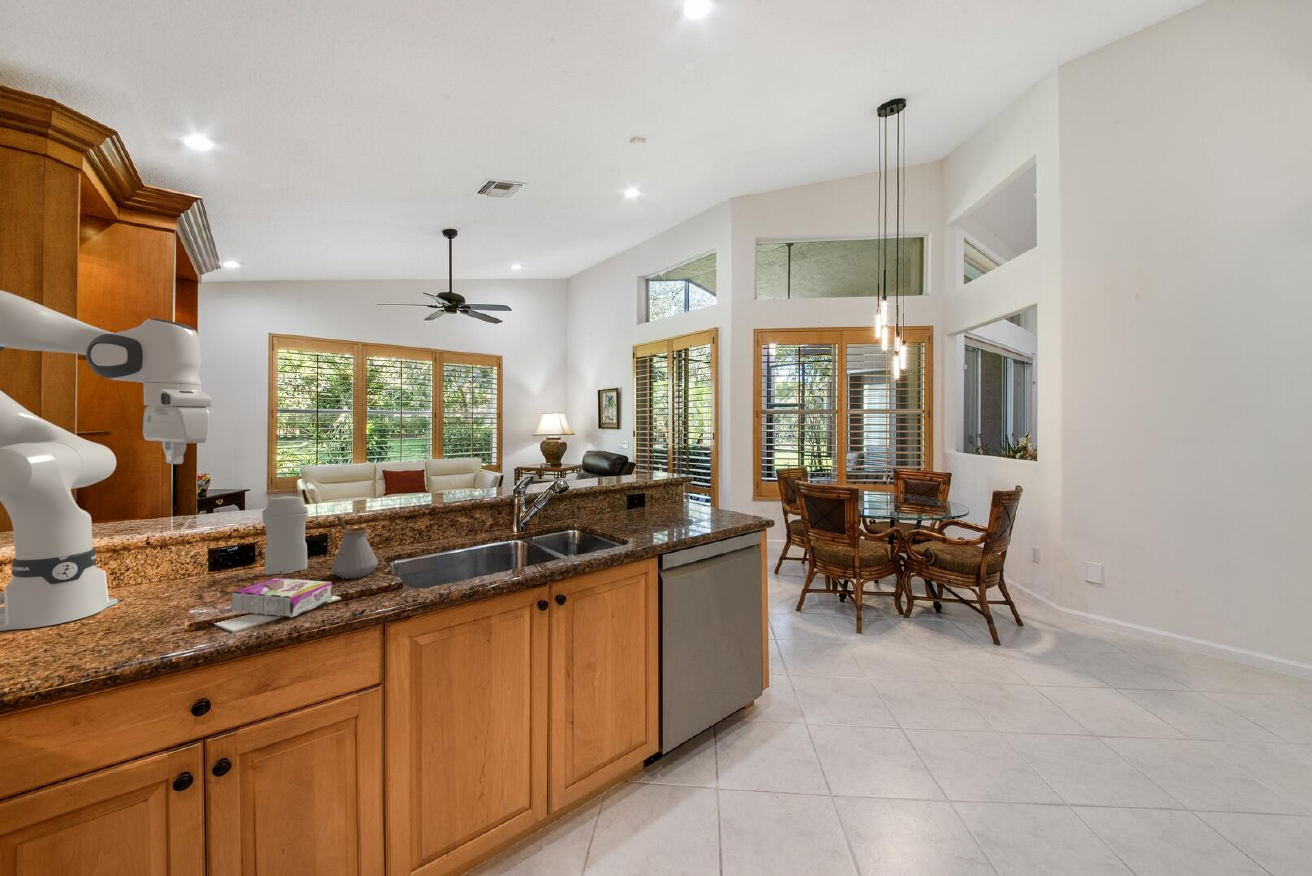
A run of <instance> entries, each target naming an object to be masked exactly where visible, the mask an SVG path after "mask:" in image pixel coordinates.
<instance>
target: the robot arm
mask: <svg viewBox="0 0 1312 876" xmlns="http://www.w3.org/2000/svg"><path fill="white" fill-rule="evenodd" d="M199 337H200V336H199V335H198V333H197V330H196V329H195V328H194V327H193V326H191V325H188V324H186V323H180V322H176V321H171V320H167V319H163V318H148V319H146V320H144V321H143V323H141V324H140V325H138V326H135V327H133V328H130V329H126V330H122V331H117V332H113V331H110V330H107V329H103V328H100V327H97V326H94V325H91V324H89V323H86V322H83V321H81V320H78V319H77V318H73V317H72V316H68V315H66V314H63V313H61V312H59V311H57V310H54V309H52V308H49V307H47V306H45V305H42V304H40V303H37V302H35V301H32V300H30V299H27V298H24V297H21V296H19V295H16V294H15V293H12V292H8V291H5V290H3V289H2V290H1V289H0V353H1V352H2V351H3V349H4V348H8V349H14V350H15V349H16V350H24V351H35V352H37V351H38V352H49V353H50V352H51V353H52V352H53V353H61V354H62V353H64V354H76V355H84V356H86V362H87V363H88V367H90V369H91V370H92V371H93V372H94V373H95V374H96V375H97V376H99V377H101V378H105V379H109V380H113V381H121V382H132V383H133V382H134V383H143V406H146V407H145V408H144V412H143V424H142V436H143V438H144V440H145V441H150V442H161V443H162V449H163V451H164V455H165V462H166V464H170V465H171V464H172V465H181V464H183V463H184V456H185V455H184V454H185V452H186V451H187V444H205V443H206V442H207V440H208V437H209V430H210V411H209V409H208V408H210V407H211V406H212V398H211V396H210V395H208V394H207V393H205V392H204V390H203V389H202V388H203V387H202V381H201V378H200V369H201V366H202V352H201V351H202V350H201V348H202V347H201V341H200V338H199ZM116 467H117V457H116V456H115V453H114V452H113V451H112V449H110V448H109V447H107V446H105V445H103V444H102V443H101V444H100V443H97V442H94V441H91V440H87V439H84V438H82V437H81V436H78V435H76V434H74V433H72V432H70V431H68V430H66V429H64V428H62V427H60V426H58V425H56V424H53V423H51V422H49V421H48V420H46V419H43V418H42V417H40V416H38V415H37V414H34V413H33V412H32V411H30V410H28V409H27V408H26V407H24V406H23V405H21V404H20V403H19V402H17V401H15V400H14V399H13V398H12V397H10V396H9V395H7V394H6V393H5V392H4V391H2V390H1V389H0V503H1V504H2V505H3V507H4V508H5V510H6V513H8V516H9V518H10V521H11V525H12V531H13V541H14V542H13V543H14V558H13V559H12V562H11V565H10V569H11V573H10V574H11V576H12V578H11V579H10V581H9V582H8V583H7V584H6V586H5V588H4V590H3V591H2V592H0V605H2V606H0V632H2V631H9V630H10V631H11V630H22V629H24V630H25V629H36V628H41V627H49V626H53V625H58V624H63V623H68V622H72V621H76V620H79V619H80V620H81V619H83V618H87V617H90V616H93V615H95V614H97V613H100V612H102V611H103V610H105V609H107V608H108V607H109V608H110V607H112V606H114V605H117V604H118V603H119V602H118V601H119V600H118V598H116V597H110V596H109V592H108V591H109V590H108V583H107V573H106V571H105V570H103V569H101V568H99V567H97V566H96V564H97V557H98V556H97V555H98V554H97V553H96V549H95V547H93V525H92V522H93V521H92V520H93V519H92V517H91V514H90V513H89V512H88V511H86V510H84V509H82V508H80V507H79V505H78V504H77V503H76V501H75V499H74V498H75V497H73V493H72V491H71V490H73V489H79V488H84V487H89V486H91V485H94V484H96V483H99V482H101V481H103V480H106V479H107V478H109V477H110V476H112V474H113V473H114V472H115V470H116ZM3 604H4V606H3Z"/></svg>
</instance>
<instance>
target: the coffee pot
mask: <svg viewBox="0 0 1312 876" xmlns="http://www.w3.org/2000/svg"><path fill="white" fill-rule="evenodd" d="M334 519H337V520H334V522H335V523H336V522H338V523H339V526H340V527H341V528H342V530H341V534H343V541H342V542H341V544H340V547H339V549H338V551H337V554H336V556H335V558H334V561H333V563H332V564H331V567H330V569H331V571H332V573H334V574H335V575H337V576H338V577H339V578H340V577H341V579H344V578H345V579H349V578H351V579H357V578H358V577H359V578H362V577H365V576H366V577H367V576H368V575H371V573H372V572H373V571H374V570H375V569H376V568H377V566H378V564H379V560H378V558H377V557H376V554H375V552H374V551H373V549H372V547H371V545H370V543H369V541H368V539H367V536H366V534H367V532H368V531H369V528H368V527H352V528H351V527H350V528H347V525H346V523H345V522H344V521H343V517H342V516H339V515H336V516H335V517H334Z"/></svg>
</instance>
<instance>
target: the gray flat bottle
mask: <svg viewBox="0 0 1312 876" xmlns="http://www.w3.org/2000/svg"><path fill="white" fill-rule="evenodd" d="M261 513H262V514H261V515H262V523H263V525H265V537H266V539H265V540H266V541H265V542H266V547H265V550H264V563H265V564H264V565H265V566H264V567H265V571H264V572H265V576H274V575H286V574H289V573H290V574H291V573H295V572H300V571H305V570H308V545H307V542H306V523H307V522H306V521H307V520H308V517H309V507H308V506H306V505H305V504H304V501H303V497H302V496H290V495H289V496H288V495H284V496H283V495H282V496H279V497H276V498H270V499H268V501H267V505H266V508H264V509H263V510H262V511H261Z"/></svg>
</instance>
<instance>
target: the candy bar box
mask: <svg viewBox="0 0 1312 876" xmlns="http://www.w3.org/2000/svg"><path fill="white" fill-rule="evenodd" d="M332 588H333V584H332V581H325V580H310V579H296V578H295V579H294V578H285V577H284V578H282V577H274V578H271V579H268V580H265V581H262V582H259V583H256V584H253V585H250V586H249V585H248V586H247V587H243V588H239V589H237V590H234V591H232V592H231V611H246V612H248V613H250V614H259V615H269V616H281V617H282V618H290V619H291V618H294V617H296V616H299V615H301V614H304V613H306V612H308V611H311V610H314V609H316V608H318V607H320V606H323V604H324V605H327V604H329V603H328V602H330V601H332V595H333V589H332ZM326 603H327V604H326ZM330 603H331V602H330Z"/></svg>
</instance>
